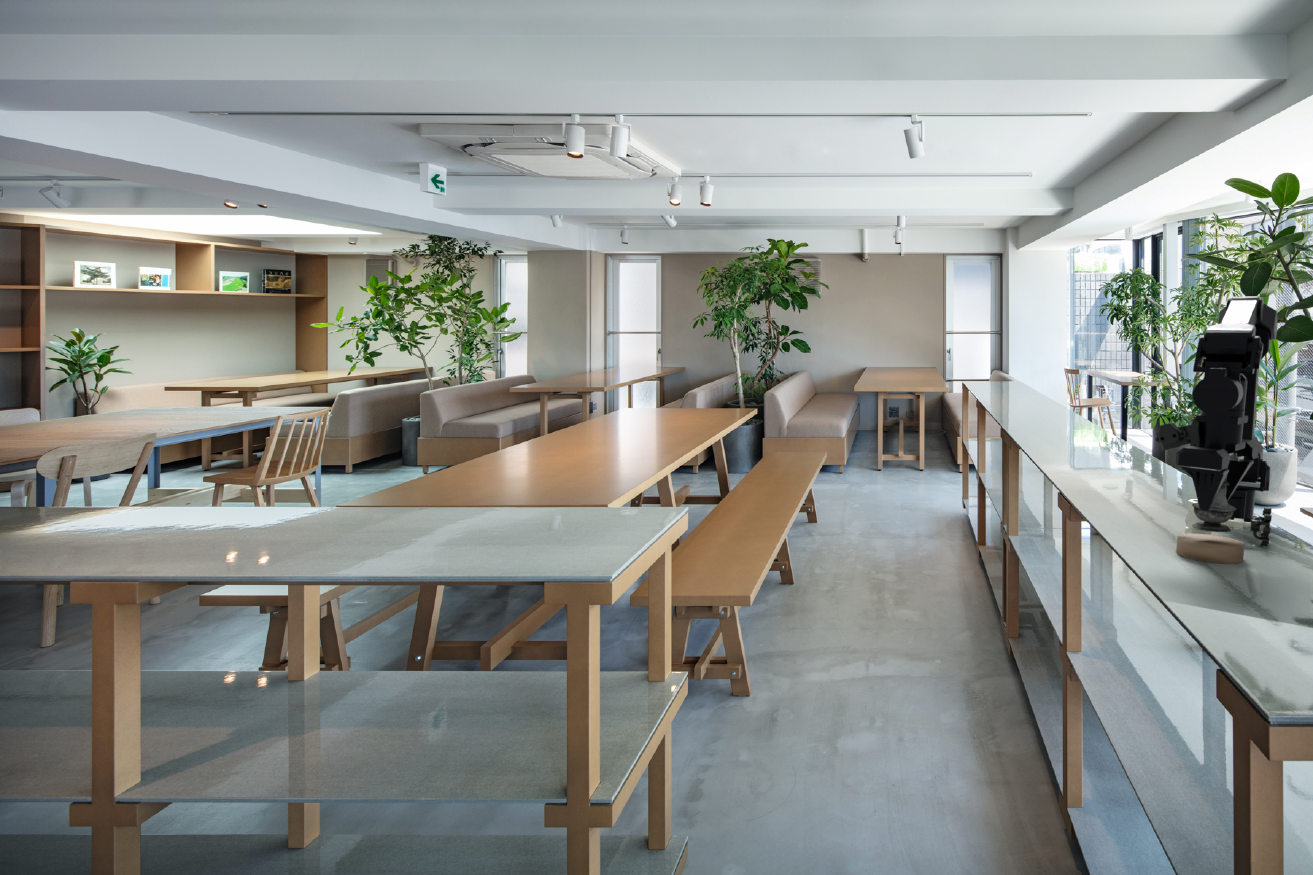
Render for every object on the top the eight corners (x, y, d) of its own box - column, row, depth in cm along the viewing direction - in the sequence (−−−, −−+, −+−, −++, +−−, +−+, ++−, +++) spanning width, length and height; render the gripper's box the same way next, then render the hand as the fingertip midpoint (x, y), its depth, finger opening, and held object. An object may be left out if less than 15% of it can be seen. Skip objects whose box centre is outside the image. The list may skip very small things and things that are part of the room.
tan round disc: (1181, 545, 141) (1182, 530, 140) (1246, 554, 135) (1247, 539, 135) (1171, 556, 134) (1172, 541, 134) (1239, 566, 128) (1241, 551, 128)
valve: (1182, 540, 145) (1268, 550, 138) (1186, 503, 144) (1272, 511, 137) (1184, 532, 150) (1266, 542, 143) (1187, 496, 149) (1270, 504, 143)
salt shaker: (1196, 531, 132) (1203, 456, 130) (1185, 522, 138) (1191, 450, 136) (1239, 533, 130) (1247, 457, 129) (1226, 524, 136) (1232, 452, 134)
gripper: (1186, 401, 143) (1178, 491, 146) (1143, 409, 132) (1135, 506, 134) (1264, 406, 135) (1254, 501, 137) (1225, 414, 123) (1215, 518, 125)
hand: (1213, 506), depth 133 cm, fingers closed on salt shaker, 8 cm apart
